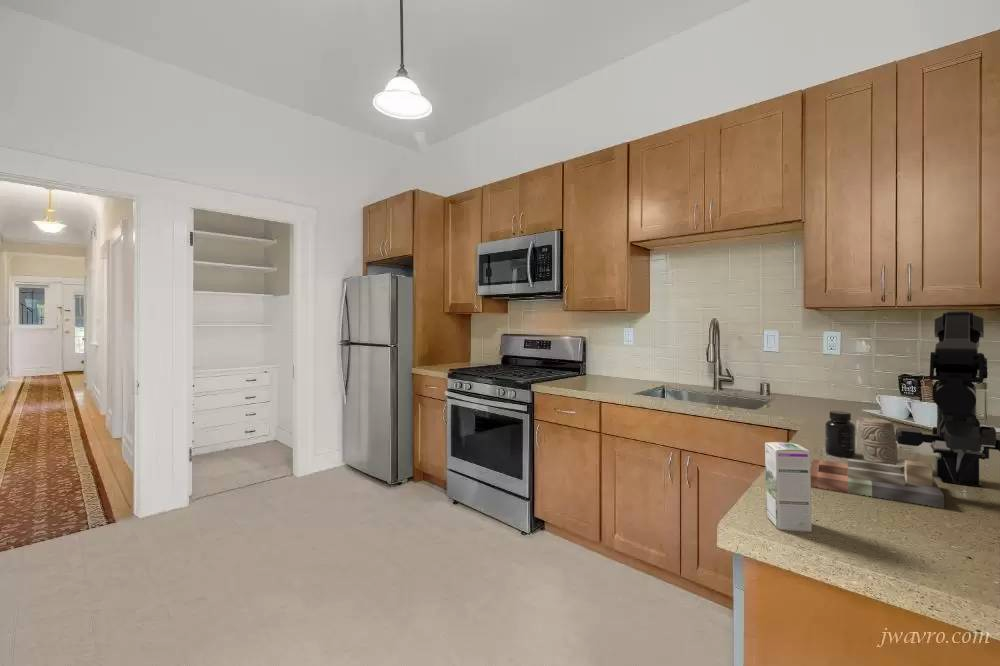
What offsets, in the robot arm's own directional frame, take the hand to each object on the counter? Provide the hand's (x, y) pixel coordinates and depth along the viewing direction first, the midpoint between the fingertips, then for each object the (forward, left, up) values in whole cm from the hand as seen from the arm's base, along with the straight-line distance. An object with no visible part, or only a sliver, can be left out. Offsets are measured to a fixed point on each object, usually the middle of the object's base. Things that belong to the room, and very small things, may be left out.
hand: (956, 482), depth 94 cm
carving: (+11, -20, -4) cm, 23 cm away
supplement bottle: (+19, -28, -4) cm, 34 cm away
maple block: (+6, 0, -1) cm, 6 cm away
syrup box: (+27, +34, -4) cm, 44 cm away
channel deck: (+14, 0, -4) cm, 14 cm away
